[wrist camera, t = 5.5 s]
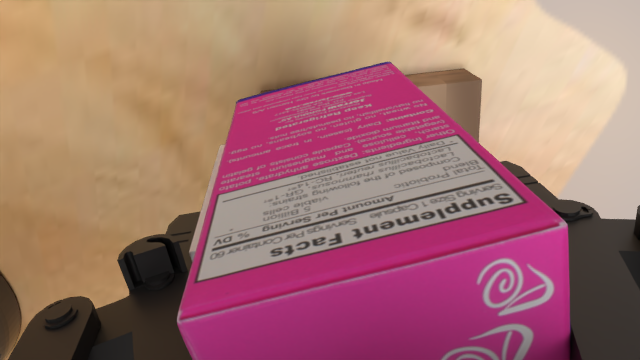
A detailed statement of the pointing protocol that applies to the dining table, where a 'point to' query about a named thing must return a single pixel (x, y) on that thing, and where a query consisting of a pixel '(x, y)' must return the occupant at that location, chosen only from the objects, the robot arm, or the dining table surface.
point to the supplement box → (371, 236)
